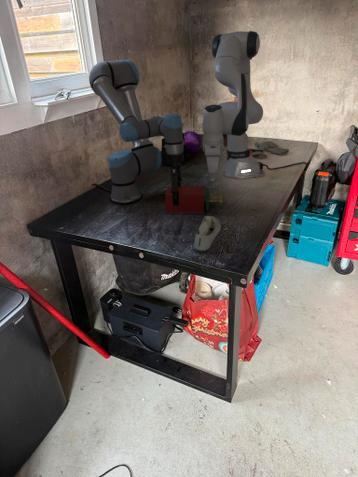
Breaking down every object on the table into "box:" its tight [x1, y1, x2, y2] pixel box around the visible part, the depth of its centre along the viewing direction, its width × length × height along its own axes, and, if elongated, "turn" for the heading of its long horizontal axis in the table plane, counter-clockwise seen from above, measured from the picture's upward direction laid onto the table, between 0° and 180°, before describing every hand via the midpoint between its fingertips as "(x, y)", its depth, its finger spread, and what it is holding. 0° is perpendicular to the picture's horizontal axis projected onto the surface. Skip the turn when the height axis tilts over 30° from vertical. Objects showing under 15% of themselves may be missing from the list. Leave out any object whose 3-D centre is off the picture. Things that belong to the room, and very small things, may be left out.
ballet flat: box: [193, 215, 222, 253], centre depth 127 cm, size 8×24×8 cm, turn 163°
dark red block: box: [164, 185, 206, 215], centre depth 152 cm, size 17×11×9 cm, turn 85°
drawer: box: [205, 187, 223, 212], centre depth 151 cm, size 22×10×7 cm, turn 85°
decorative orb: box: [183, 130, 202, 154], centre depth 230 cm, size 15×15×15 cm
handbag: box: [160, 132, 188, 167], centre depth 211 cm, size 21×9×25 cm, turn 148°
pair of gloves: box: [247, 140, 290, 159], centre depth 223 cm, size 30×26×5 cm
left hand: (177, 199), depth 152 cm, fingers closed on dark red block, 11 cm apart
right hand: (212, 177), depth 147 cm, fingers open, 8 cm apart
